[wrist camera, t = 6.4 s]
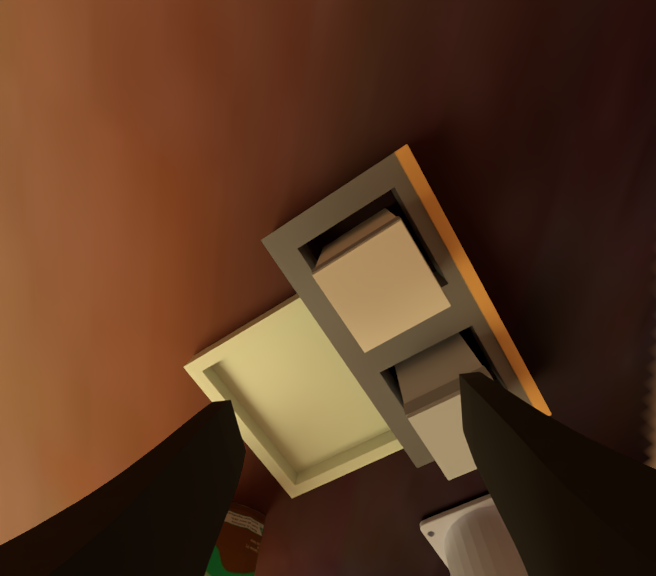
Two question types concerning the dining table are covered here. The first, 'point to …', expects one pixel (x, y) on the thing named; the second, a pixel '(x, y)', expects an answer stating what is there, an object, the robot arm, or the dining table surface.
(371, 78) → the dining table surface
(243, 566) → the food container
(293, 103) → the dining table surface
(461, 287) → the grey cubby shelf
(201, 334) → the dining table surface
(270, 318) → the tray
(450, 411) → the beige block
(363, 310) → the plug
